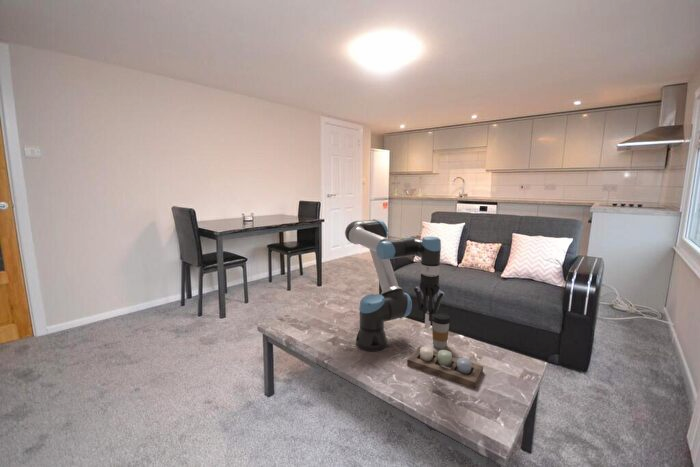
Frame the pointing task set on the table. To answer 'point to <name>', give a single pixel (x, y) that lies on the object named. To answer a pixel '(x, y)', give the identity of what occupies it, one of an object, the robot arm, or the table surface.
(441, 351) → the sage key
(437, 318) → the coffee cup
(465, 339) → the table surface
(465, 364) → the pale blue rounded knob
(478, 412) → the table surface
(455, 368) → the wooden tray
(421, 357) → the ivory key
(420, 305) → the robot arm
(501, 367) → the table surface
